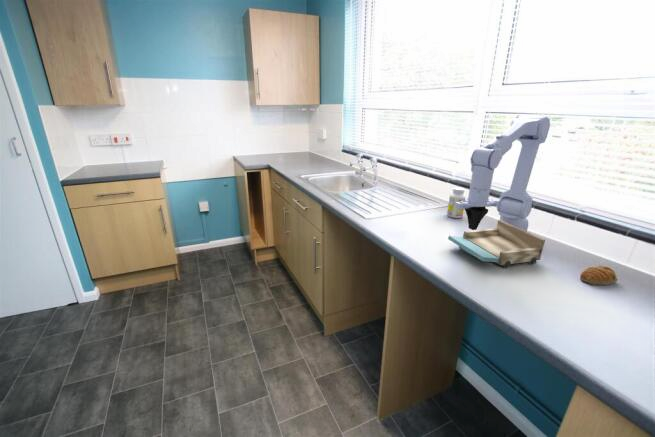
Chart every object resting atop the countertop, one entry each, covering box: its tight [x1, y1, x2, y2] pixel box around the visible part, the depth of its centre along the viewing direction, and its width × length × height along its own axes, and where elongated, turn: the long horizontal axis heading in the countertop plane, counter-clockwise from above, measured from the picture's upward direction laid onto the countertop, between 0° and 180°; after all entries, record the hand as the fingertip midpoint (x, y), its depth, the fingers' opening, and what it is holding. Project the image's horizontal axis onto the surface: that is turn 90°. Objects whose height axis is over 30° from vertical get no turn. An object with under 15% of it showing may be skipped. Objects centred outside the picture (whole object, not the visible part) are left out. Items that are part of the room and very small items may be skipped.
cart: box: [462, 219, 546, 269], centre depth 104 cm, size 15×18×8 cm
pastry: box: [579, 265, 618, 286], centre depth 90 cm, size 9×7×4 cm
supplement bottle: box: [446, 186, 467, 219], centre depth 140 cm, size 7×7×13 cm
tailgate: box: [447, 235, 499, 263], centre depth 102 cm, size 2×17×6 cm
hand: (472, 228), depth 101 cm, fingers closed
